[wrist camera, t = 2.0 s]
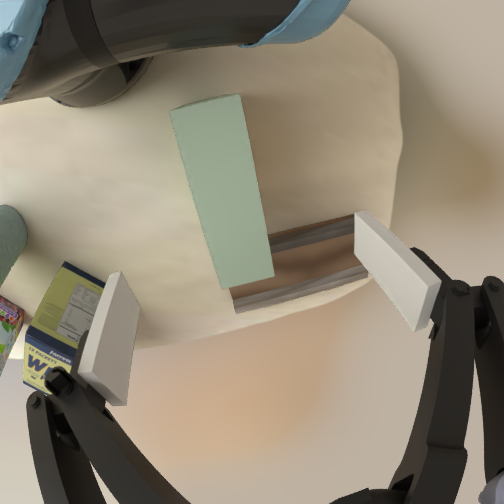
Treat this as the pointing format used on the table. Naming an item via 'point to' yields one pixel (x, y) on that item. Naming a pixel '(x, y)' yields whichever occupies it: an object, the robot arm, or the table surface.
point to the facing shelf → (304, 264)
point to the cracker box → (224, 187)
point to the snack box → (8, 328)
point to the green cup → (10, 239)
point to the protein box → (60, 324)
